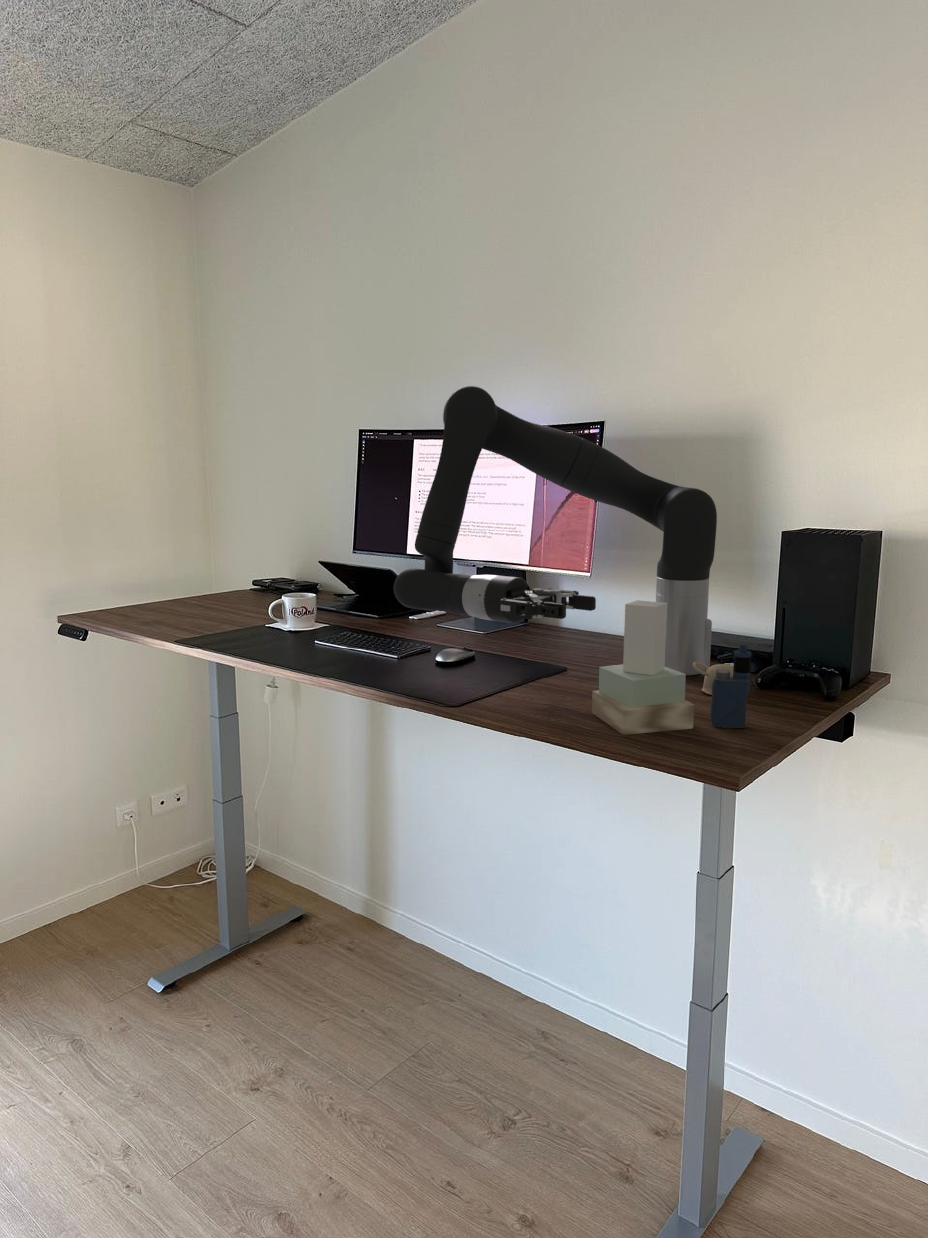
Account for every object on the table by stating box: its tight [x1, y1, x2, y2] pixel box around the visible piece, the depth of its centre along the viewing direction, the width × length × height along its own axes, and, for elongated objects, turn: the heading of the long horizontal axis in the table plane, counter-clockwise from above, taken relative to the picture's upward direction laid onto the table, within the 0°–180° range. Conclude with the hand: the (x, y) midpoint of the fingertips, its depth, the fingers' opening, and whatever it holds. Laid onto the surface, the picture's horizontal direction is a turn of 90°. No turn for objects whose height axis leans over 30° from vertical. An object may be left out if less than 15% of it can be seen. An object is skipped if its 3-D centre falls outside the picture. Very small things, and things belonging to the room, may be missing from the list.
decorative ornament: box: [693, 662, 734, 696], centre depth 140 cm, size 4×8×5 cm, turn 71°
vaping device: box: [709, 644, 752, 729], centre depth 122 cm, size 3×5×12 cm, turn 79°
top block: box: [598, 663, 687, 708], centre depth 126 cm, size 9×9×4 cm
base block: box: [591, 689, 695, 736], centre depth 126 cm, size 11×11×4 cm
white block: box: [622, 599, 667, 676], centre depth 124 cm, size 5×5×10 cm
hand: (580, 607), depth 130 cm, fingers open, 8 cm apart
